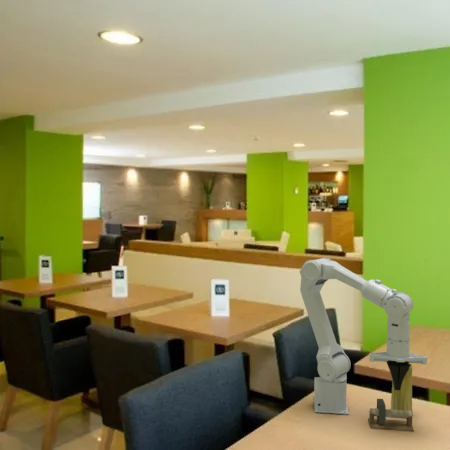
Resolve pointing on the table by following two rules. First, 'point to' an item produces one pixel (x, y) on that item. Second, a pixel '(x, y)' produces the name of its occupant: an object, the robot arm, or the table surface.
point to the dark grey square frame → (381, 411)
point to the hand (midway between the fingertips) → (396, 388)
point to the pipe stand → (391, 423)
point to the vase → (403, 394)
